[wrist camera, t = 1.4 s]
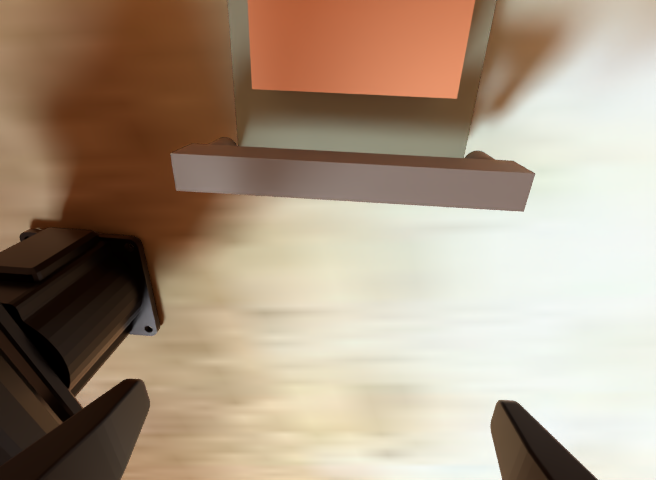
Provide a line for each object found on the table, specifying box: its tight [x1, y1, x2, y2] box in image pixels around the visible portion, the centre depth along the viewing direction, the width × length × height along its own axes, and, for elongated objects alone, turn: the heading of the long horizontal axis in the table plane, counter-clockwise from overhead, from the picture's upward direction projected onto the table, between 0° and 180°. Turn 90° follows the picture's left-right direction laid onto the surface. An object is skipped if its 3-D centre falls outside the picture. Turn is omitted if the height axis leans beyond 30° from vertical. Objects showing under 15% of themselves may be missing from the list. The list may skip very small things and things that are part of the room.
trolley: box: [170, 0, 535, 212], centre depth 11 cm, size 10×11×6 cm
